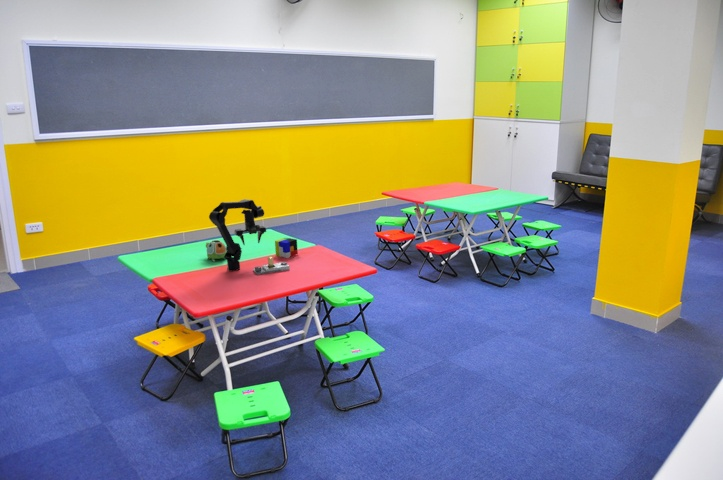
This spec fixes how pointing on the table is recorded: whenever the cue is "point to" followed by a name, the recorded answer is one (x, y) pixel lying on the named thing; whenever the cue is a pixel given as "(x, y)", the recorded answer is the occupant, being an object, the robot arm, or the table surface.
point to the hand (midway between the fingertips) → (251, 244)
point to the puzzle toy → (286, 247)
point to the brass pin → (270, 262)
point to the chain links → (276, 268)
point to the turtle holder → (215, 250)
